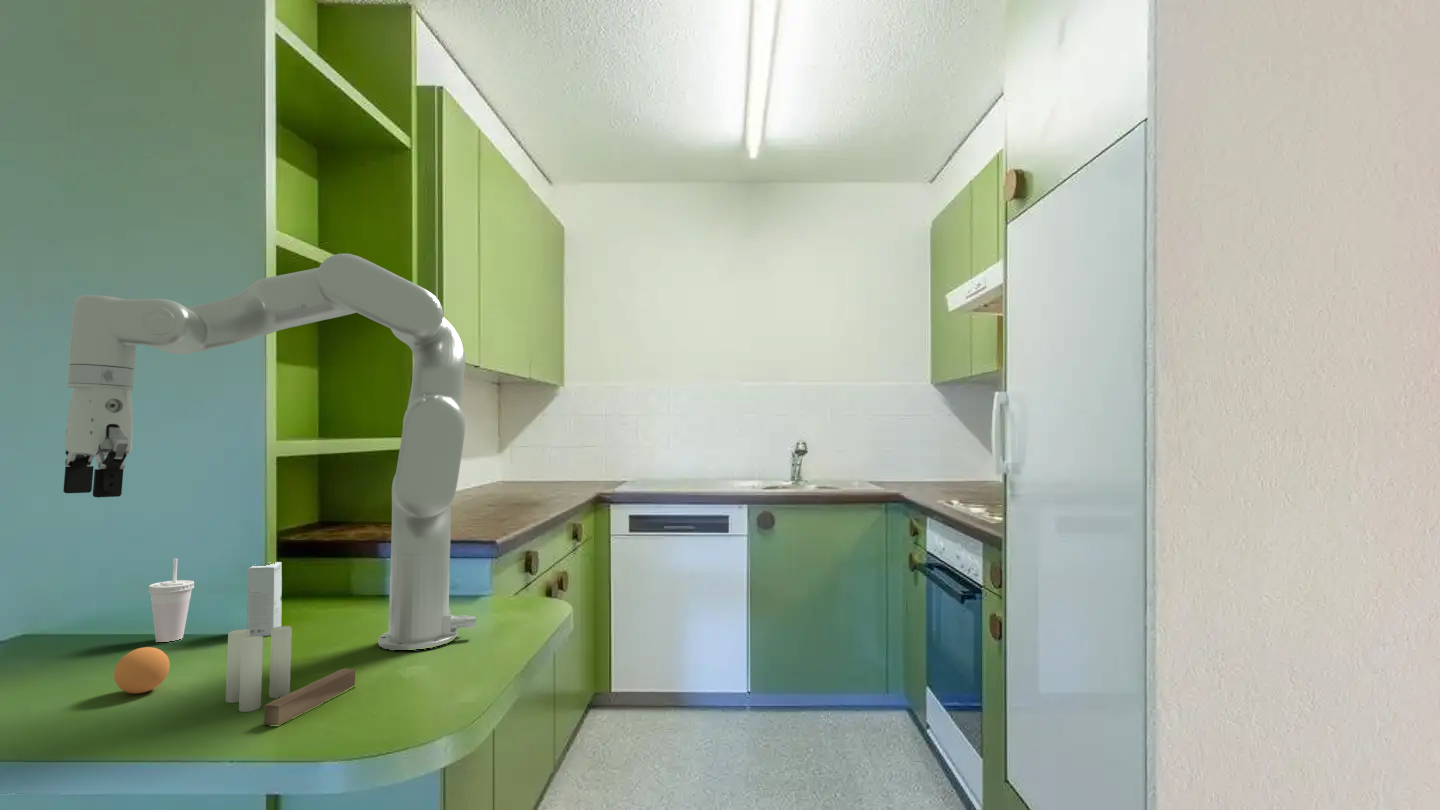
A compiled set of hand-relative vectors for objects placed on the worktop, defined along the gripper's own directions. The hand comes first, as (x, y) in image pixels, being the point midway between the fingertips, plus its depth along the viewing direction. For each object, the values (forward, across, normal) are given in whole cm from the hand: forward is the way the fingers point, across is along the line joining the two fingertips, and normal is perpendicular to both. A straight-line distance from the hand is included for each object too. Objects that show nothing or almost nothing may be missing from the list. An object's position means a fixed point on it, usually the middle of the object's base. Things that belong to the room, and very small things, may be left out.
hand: (91, 494), depth 105 cm
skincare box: (+26, +2, -27) cm, 38 cm away
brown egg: (+23, -15, -2) cm, 28 cm away
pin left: (+26, -34, -6) cm, 43 cm away
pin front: (+26, -29, -7) cm, 40 cm away
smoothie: (+27, +11, -16) cm, 33 cm away
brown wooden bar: (+26, -40, -11) cm, 49 cm away
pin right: (+26, -32, -11) cm, 43 cm away
